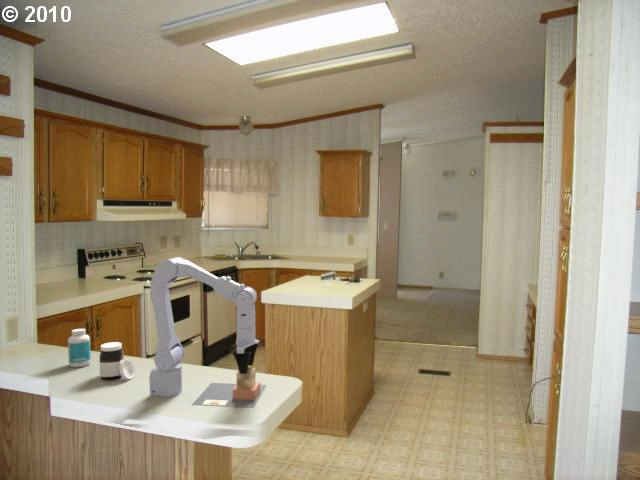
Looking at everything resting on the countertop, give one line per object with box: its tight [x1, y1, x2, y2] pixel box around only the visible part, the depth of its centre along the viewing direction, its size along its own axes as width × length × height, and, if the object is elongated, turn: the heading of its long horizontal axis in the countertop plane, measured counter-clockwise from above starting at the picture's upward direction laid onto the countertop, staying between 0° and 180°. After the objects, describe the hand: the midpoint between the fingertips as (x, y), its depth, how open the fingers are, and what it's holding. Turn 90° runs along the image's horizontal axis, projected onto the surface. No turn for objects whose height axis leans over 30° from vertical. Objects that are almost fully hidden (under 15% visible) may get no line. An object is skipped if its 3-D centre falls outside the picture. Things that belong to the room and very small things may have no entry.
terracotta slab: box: [233, 381, 261, 400], centre depth 152 cm, size 7×7×3 cm
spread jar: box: [98, 341, 135, 382], centre depth 170 cm, size 12×11×12 cm
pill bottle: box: [67, 328, 92, 368], centre depth 183 cm, size 8×7×14 cm
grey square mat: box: [191, 382, 268, 409], centre depth 153 cm, size 19×18×1 cm
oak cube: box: [236, 367, 256, 389], centre depth 152 cm, size 5×5×5 cm
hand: (246, 369), depth 152 cm, fingers open, 7 cm apart
